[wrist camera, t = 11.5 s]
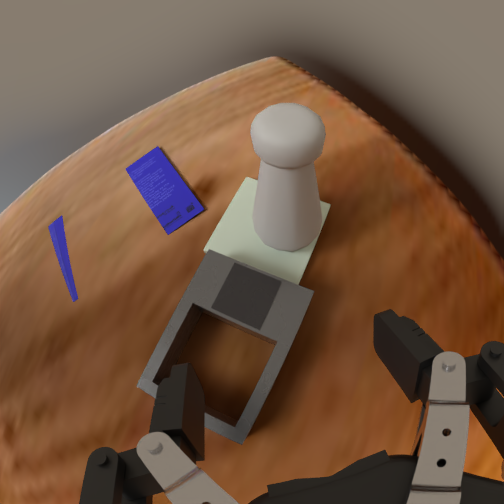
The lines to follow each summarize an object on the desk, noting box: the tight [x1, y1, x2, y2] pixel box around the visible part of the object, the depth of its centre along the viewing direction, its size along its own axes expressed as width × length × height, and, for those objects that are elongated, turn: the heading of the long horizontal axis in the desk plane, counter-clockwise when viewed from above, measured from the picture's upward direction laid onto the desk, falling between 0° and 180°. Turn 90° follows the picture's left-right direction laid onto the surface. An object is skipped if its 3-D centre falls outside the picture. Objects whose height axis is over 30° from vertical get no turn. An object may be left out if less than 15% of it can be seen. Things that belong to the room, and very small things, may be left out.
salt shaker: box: [250, 103, 326, 253], centre depth 21 cm, size 6×6×13 cm
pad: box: [204, 177, 331, 285], centre depth 27 cm, size 9×9×1 cm
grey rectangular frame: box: [137, 249, 314, 445], centre depth 22 cm, size 9×12×3 cm
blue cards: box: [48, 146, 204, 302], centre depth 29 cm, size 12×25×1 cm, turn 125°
